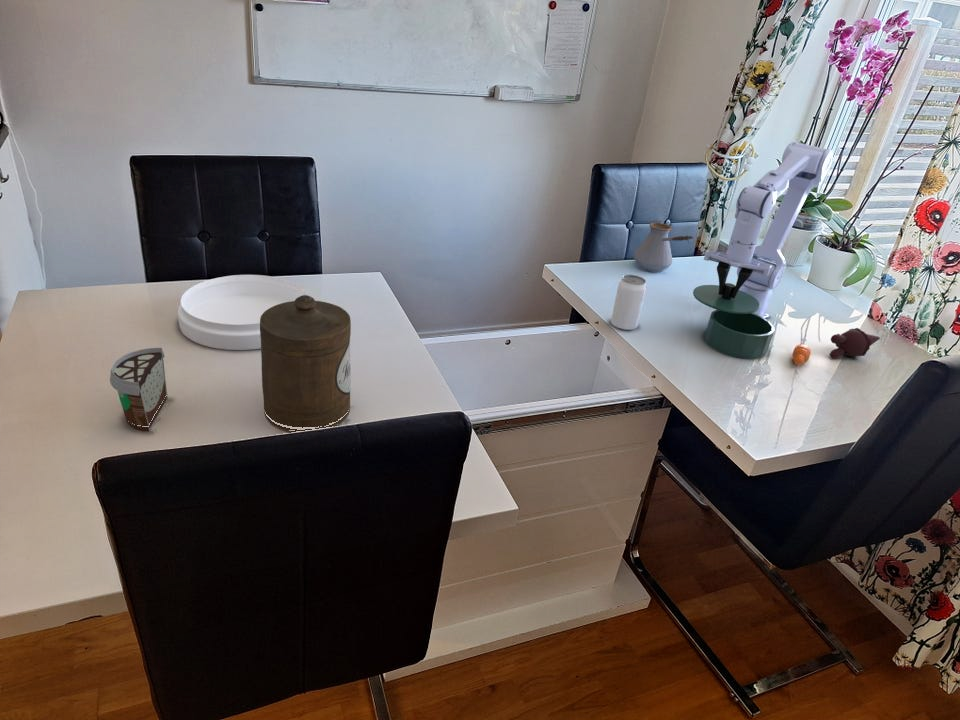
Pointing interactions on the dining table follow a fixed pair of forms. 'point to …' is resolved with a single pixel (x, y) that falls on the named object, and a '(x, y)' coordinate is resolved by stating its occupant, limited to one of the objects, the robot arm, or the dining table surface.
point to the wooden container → (305, 363)
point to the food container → (140, 386)
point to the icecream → (852, 343)
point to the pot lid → (726, 299)
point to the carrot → (801, 354)
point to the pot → (739, 334)
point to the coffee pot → (656, 248)
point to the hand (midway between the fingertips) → (726, 295)
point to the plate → (232, 309)
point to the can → (628, 302)
